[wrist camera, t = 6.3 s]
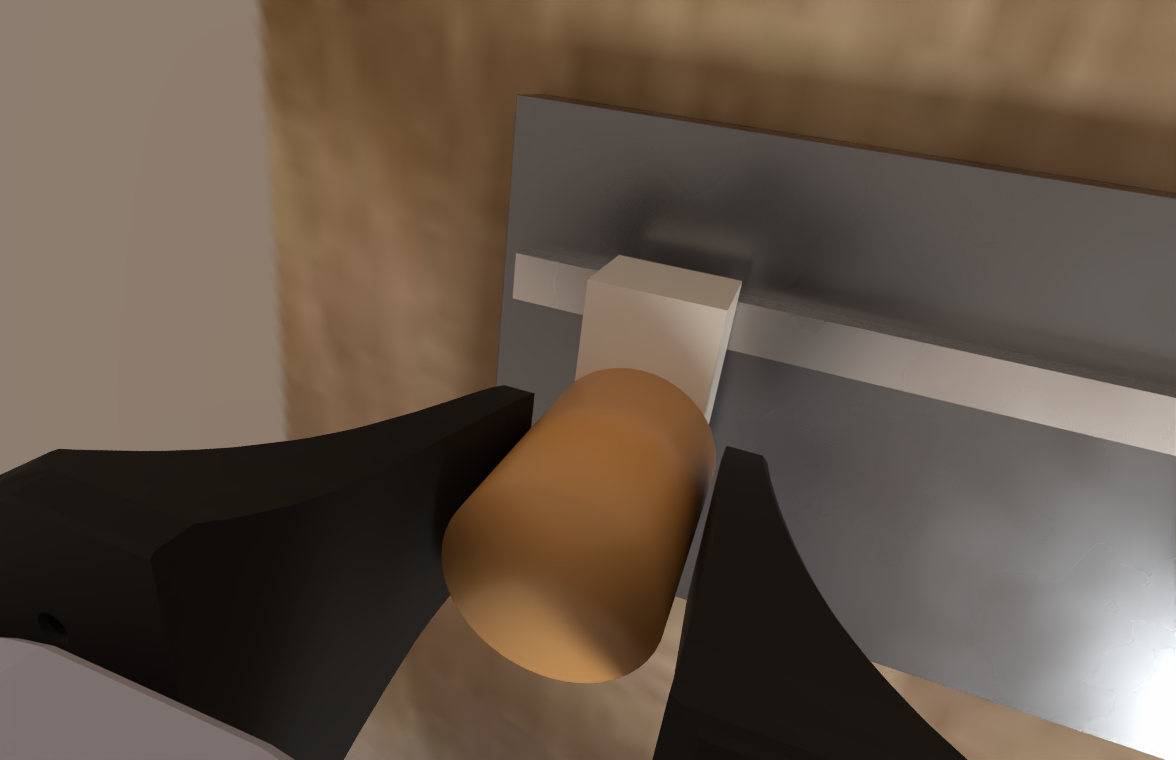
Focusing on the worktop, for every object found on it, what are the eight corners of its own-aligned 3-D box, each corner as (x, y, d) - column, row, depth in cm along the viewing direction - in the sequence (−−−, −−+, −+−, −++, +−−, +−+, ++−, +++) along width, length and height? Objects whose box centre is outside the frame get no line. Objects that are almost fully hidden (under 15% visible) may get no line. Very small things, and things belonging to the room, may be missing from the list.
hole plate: (1470, 818, 14) (1693, 1077, 10) (504, 508, 19) (427, 607, 16) (2028, 327, 9) (2808, 485, 6) (540, 94, 14) (439, 96, 11)
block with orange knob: (697, 555, 16) (623, 804, 10) (567, 514, 16) (434, 726, 11) (765, 282, 13) (712, 426, 7) (604, 247, 13) (448, 355, 8)
